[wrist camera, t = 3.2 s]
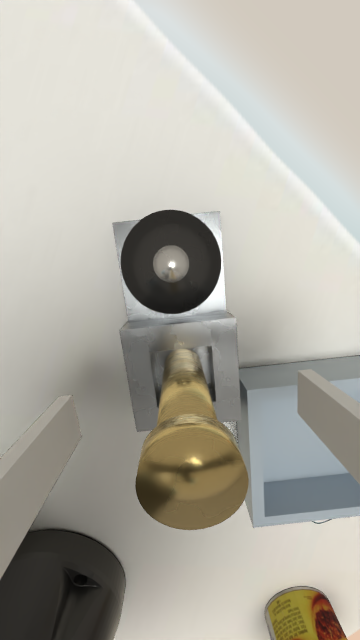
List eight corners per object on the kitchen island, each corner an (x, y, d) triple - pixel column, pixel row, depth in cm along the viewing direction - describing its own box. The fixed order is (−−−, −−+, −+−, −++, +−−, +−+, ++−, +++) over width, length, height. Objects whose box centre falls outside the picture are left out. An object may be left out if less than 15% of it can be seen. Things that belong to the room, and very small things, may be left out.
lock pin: (161, 391, 18) (144, 535, 8) (154, 345, 17) (127, 443, 7) (209, 385, 18) (250, 523, 8) (205, 340, 17) (246, 430, 7)
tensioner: (230, 399, 20) (241, 425, 17) (143, 409, 20) (137, 437, 17) (218, 213, 17) (229, 197, 13) (114, 224, 17) (99, 212, 13)
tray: (240, 487, 22) (253, 527, 19) (233, 369, 19) (246, 390, 16) (377, 472, 22) (415, 509, 19) (389, 352, 20) (436, 369, 16)
